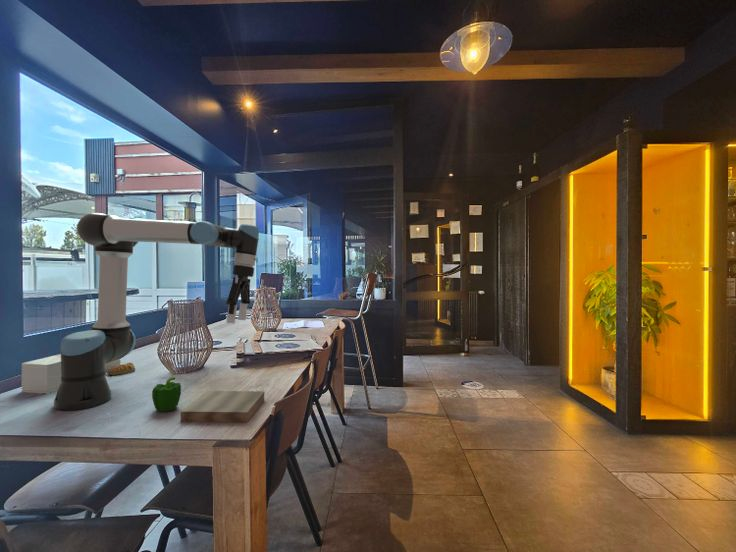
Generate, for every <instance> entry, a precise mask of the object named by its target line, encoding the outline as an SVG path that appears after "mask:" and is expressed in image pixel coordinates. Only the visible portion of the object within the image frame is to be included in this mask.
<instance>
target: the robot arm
mask: <svg viewBox="0 0 736 552" xmlns="http://www.w3.org/2000/svg"><path fill="white" fill-rule="evenodd" d="M76 230H77V234H78V236H79V237H80V239H81V240H82V241H83V242H84V243H85V244H89V245H91V246H94V253H96V254H97V255H98V256H99V266H98V267H99V269H98V271H99V272H98V298H97V299H98V300H97V321H96V322H95V323H94V324H92V327H91V329H90V330H83V331H77V332H73V333H69V334H67V335H66V336H64V337H63V338H62V339H61V343H60V344H61V345H60V348H59V349H60V350H59V352H60V354H61V384H60V387H59V389H58V390H57V391H56V395H55V397H54V400H53V407H54V408H53V409H54V410H58V411H77V410H83V409H89V408H93V407H95V406H99V405H102V404H105V403H107V402H108V401H109V400H111V399H112V391H111V389H110V386H109V383H108V381H107V378H106V374H105V364H106V363H109V362H112V361H114V360H118V359H122V358H124V357H125V356H126V357H127V355H129V354H130V353H132V351H133V350H134V348H135V347H136V343H137V338H136V335H135V333H134V332H133V330H132V329H131V323H130V322H128V321H127V319H126V316H127V292H128V291H127V289H128V288H127V287H128V268H129V266H128V264H129V261H128V259H129V258H130V257H131V256H132V255H133V254H134V247H136V245H138V244H139V243H140V242H141V243H161V244H163V243H165V244H187V245H188V244H189V245H191V244H192V245H205V246H206V245H207V246H210V247H218V248H226V249H235V253H234V260H233V263H234V265H233V268H232V275H233V279H232V284H231V287H230V291H229V294H228V296H227V301H226V305H228V308H227V315H226V324H235V323H236V315H237V310H238V317H237V320H239V321H246V320H247V319H246V318H247V312H248V311H247V310H248V304H251V279H250V278H252V277H254V275H255V274H254V273H255V267H254V266H255V265H256V261H257V260H258V258H256V256H257V252H258V245H259V244H258V243H259V240H260V239H259V237H260V235H259V234H260V228H259V227H258V226H255V225H252V224H247V223H245V224H244V223H240V224H239V225H238V228H230V227H224V226H220V225H218V224H215V223H212V222H210V221H204V220H203V221H202V220H201V221H200V220H199V221H182V220H181V221H179V220H162V219H161V220H158V219H139V218H138V219H135V218H134V219H133V218H123V217H120V216H116V215H113V214H112V215H111V214H105V213H100V212H92V213H87V214H86V215H84V216H82V217H81V218H80V219H79V221H78V222H77V226H76ZM234 276H236V277H234ZM239 298H240V299H241V301H240V303H239V309H237V308H238V305H237V304H238V301H239Z"/></svg>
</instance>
